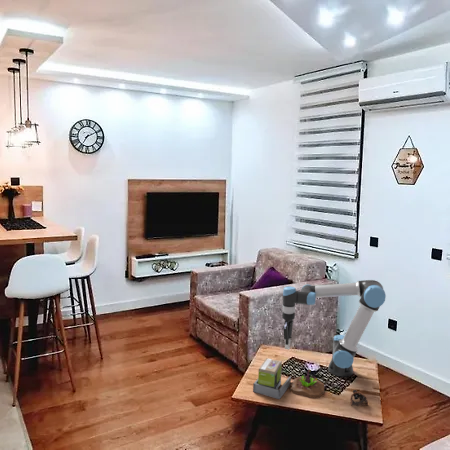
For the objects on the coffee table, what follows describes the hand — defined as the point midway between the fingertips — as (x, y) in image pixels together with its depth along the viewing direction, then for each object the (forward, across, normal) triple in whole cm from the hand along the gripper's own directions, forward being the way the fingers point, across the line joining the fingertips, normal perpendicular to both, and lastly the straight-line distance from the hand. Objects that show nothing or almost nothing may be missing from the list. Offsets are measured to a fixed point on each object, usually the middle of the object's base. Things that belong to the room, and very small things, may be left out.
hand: (287, 348), depth 283 cm
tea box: (+16, +23, -3) cm, 28 cm away
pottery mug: (+18, +14, +46) cm, 51 cm away
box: (+16, +22, -1) cm, 27 cm away
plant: (+17, +11, +17) cm, 26 cm away
